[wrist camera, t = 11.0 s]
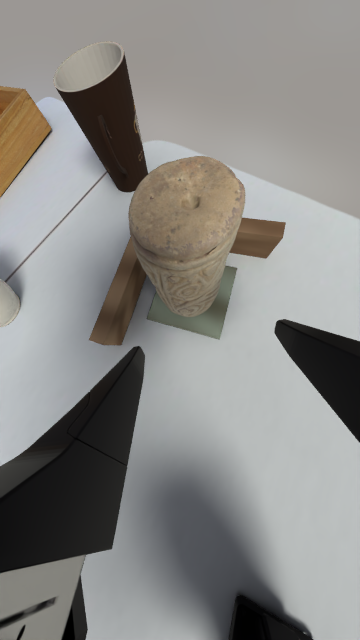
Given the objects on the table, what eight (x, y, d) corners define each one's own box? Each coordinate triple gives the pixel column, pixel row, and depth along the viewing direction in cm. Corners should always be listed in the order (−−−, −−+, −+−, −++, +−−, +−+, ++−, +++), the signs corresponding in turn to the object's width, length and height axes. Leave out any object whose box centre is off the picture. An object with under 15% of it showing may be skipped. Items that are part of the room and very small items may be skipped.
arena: (239, 385, 15) (252, 396, 12) (108, 341, 18) (88, 340, 15) (269, 245, 18) (285, 222, 15) (151, 228, 21) (142, 206, 18)
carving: (224, 278, 18) (279, 145, 6) (202, 329, 17) (214, 289, 5) (182, 264, 19) (158, 130, 7) (159, 310, 18) (88, 243, 6)
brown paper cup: (118, 161, 26) (70, 47, 16) (159, 160, 24) (133, 36, 14) (98, 209, 24) (30, 114, 14) (141, 212, 22) (98, 108, 13)
